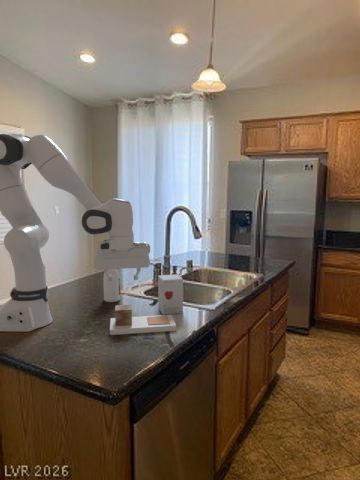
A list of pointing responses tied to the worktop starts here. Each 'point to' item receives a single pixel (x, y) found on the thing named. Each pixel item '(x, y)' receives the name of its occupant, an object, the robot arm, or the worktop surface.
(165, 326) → the white rectangular board
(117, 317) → the walnut cap
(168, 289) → the supplement box
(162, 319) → the terracotta tile
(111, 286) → the milk bottle
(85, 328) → the worktop surface
